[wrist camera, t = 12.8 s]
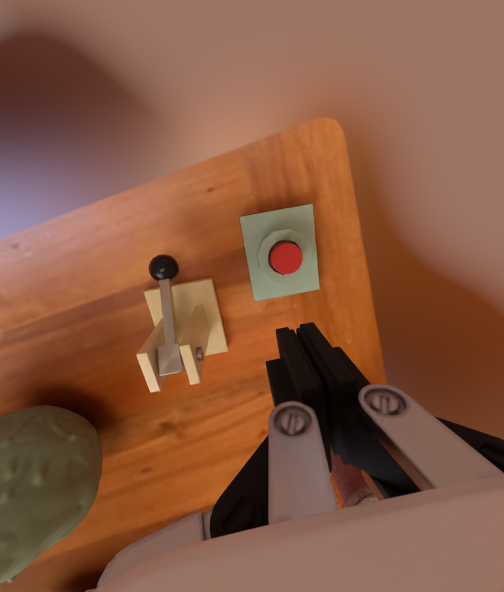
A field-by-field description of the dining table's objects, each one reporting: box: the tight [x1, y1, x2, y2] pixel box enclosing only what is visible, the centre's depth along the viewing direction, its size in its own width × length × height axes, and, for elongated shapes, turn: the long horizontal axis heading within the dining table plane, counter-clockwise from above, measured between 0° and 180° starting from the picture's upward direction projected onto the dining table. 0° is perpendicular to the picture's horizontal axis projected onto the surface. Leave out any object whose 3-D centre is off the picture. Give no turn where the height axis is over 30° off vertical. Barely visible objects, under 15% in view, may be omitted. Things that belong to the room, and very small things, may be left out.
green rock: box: [0, 405, 102, 586], centre depth 28 cm, size 16×19×20 cm
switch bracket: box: [136, 277, 228, 392], centre depth 28 cm, size 11×9×12 cm
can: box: [330, 446, 378, 508], centre depth 35 cm, size 6×6×14 cm
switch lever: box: [149, 254, 186, 376], centre depth 26 cm, size 13×3×3 cm
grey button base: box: [239, 204, 320, 301], centre depth 30 cm, size 11×9×4 cm
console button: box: [270, 242, 303, 274], centre depth 28 cm, size 4×4×2 cm
